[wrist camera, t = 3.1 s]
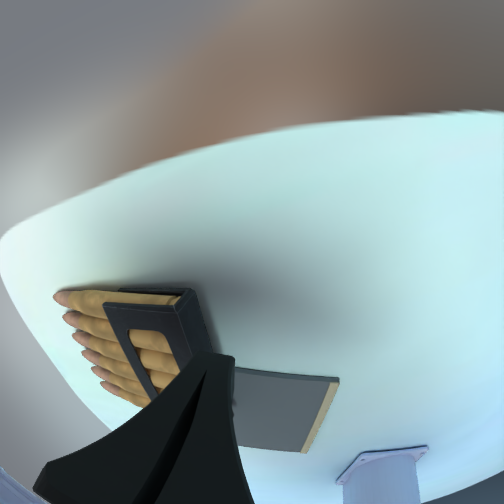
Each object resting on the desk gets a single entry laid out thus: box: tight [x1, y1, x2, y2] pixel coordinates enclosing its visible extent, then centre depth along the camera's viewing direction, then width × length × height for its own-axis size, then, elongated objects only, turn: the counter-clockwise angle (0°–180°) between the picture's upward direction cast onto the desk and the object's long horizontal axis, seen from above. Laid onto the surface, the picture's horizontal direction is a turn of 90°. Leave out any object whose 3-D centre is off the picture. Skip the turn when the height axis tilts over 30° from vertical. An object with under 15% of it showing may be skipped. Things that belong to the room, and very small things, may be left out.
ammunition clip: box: [53, 288, 234, 417], centre depth 17 cm, size 11×2×12 cm
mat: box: [232, 367, 340, 453], centre depth 20 cm, size 11×13×1 cm
